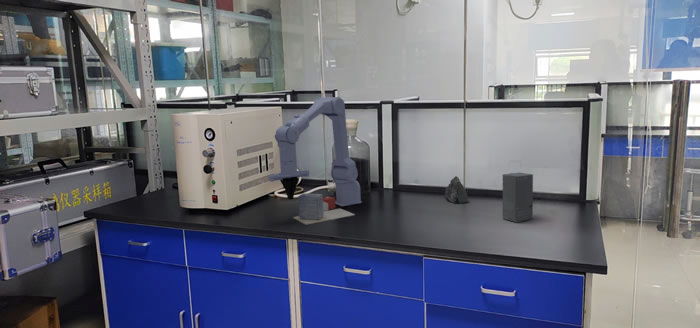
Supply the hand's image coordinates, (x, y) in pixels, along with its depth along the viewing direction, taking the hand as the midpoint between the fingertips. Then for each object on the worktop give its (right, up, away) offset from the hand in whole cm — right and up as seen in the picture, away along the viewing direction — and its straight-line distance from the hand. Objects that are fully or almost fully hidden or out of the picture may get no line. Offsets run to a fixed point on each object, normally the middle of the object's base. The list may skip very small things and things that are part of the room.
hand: (290, 198), depth 174 cm
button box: (+7, -6, +17) cm, 19 cm away
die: (+12, -5, +20) cm, 24 cm away
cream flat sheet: (+11, -7, +8) cm, 16 cm away
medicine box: (+7, -8, +5) cm, 12 cm away
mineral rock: (+64, -2, +25) cm, 69 cm away
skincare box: (+78, -7, -4) cm, 79 cm away
